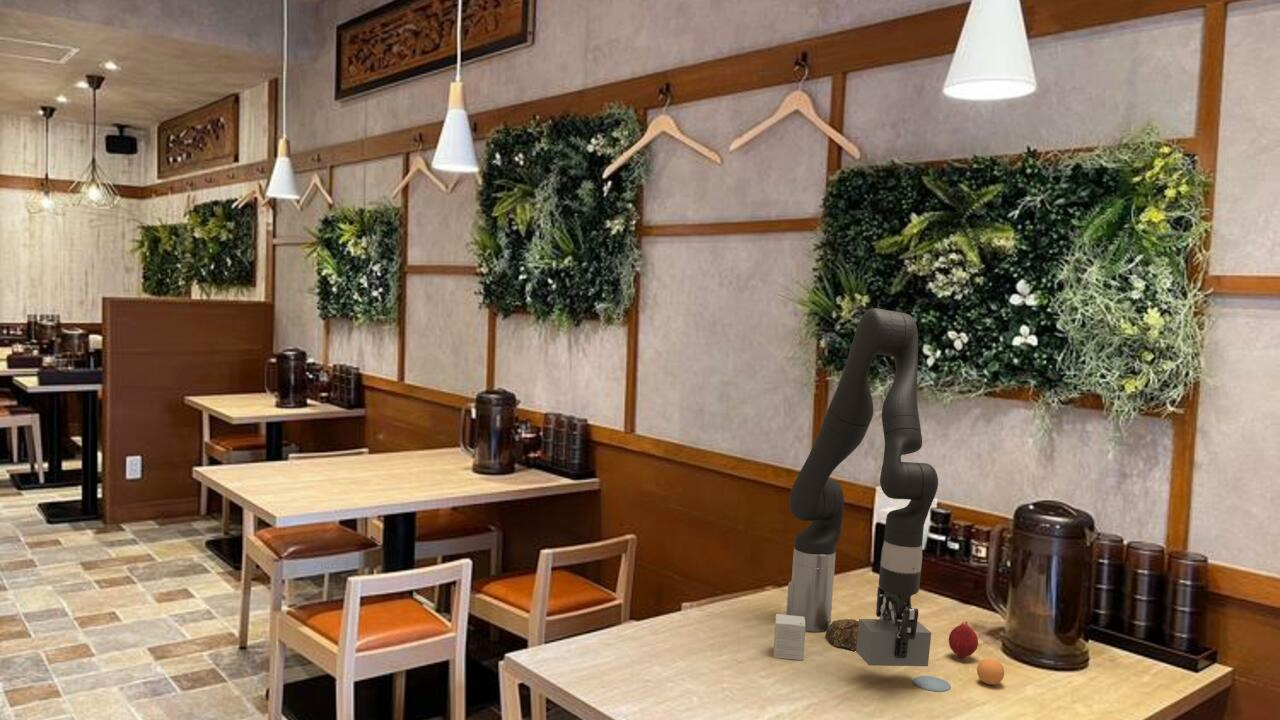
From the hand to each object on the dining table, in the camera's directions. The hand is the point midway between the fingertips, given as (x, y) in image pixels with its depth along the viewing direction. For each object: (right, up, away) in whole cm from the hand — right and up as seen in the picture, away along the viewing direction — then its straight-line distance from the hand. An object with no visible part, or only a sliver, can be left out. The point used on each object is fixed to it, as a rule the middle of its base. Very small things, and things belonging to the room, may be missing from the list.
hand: (892, 649), depth 184 cm
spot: (+8, -7, +1) cm, 10 cm away
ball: (+20, -5, +2) cm, 20 cm away
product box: (-18, -5, +12) cm, 22 cm away
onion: (+18, -7, +15) cm, 25 cm away
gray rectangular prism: (0, -2, 0) cm, 2 cm away
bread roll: (-3, -5, +22) cm, 23 cm away
